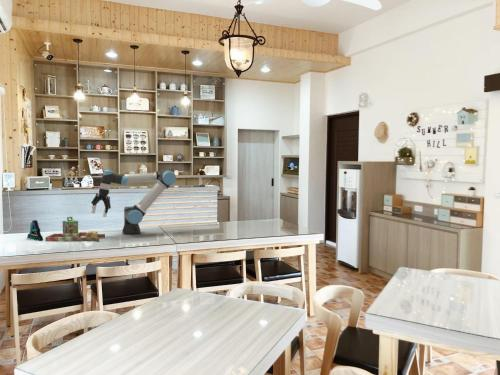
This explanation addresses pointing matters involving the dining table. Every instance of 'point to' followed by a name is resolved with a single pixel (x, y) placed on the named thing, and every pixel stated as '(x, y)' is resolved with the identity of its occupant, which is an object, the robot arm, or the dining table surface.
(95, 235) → the ochre block
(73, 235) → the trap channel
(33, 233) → the decorative sign
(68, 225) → the green lantern
